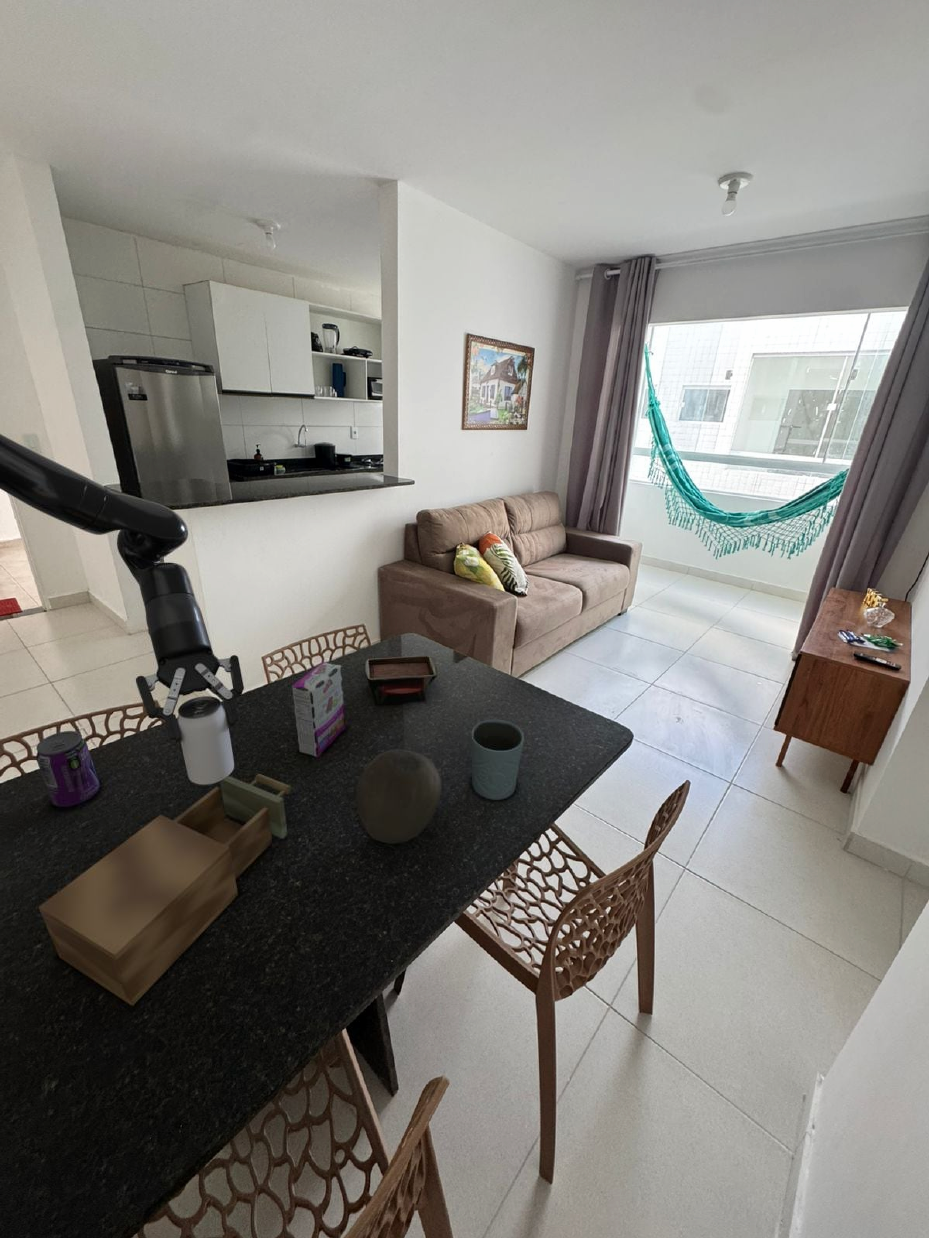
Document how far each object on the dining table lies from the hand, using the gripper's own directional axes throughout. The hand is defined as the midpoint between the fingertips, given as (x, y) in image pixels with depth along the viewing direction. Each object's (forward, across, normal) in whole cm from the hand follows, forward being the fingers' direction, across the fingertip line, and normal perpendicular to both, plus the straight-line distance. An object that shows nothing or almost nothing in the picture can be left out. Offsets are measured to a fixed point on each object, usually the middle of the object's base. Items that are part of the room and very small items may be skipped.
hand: (206, 733), depth 74 cm
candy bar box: (+3, +24, +30) cm, 39 cm away
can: (+5, 0, +7) cm, 9 cm away
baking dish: (-3, +48, +36) cm, 60 cm away
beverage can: (-2, -19, +36) cm, 41 cm away
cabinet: (+22, -11, +11) cm, 27 cm away
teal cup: (+25, +47, +8) cm, 54 cm away
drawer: (+16, +1, +16) cm, 22 cm away
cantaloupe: (+25, +26, +9) cm, 37 cm away
